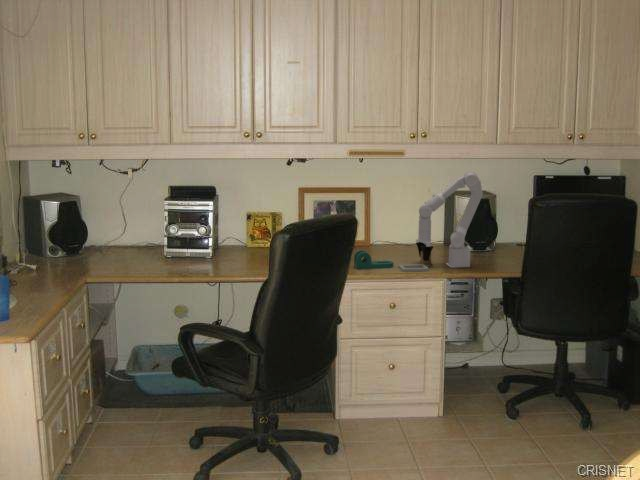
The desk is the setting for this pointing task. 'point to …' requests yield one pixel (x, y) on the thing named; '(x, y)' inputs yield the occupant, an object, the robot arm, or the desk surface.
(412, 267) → the slot board
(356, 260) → the bracket
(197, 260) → the desk surface
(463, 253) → the robot arm
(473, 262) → the desk surface
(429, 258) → the walnut block
